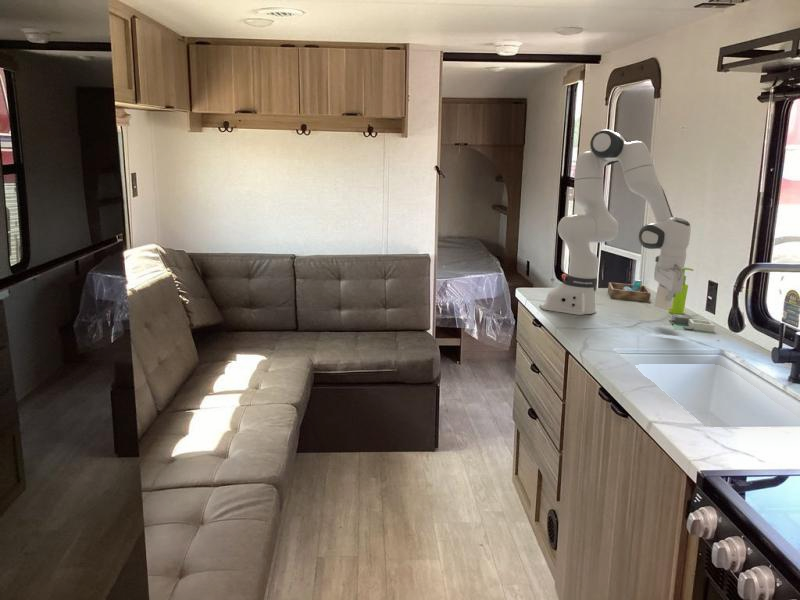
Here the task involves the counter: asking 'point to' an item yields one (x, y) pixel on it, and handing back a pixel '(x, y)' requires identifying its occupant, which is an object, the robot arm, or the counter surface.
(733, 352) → the counter surface
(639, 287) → the teal container
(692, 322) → the compartment tray
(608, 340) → the counter surface
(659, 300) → the plug
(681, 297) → the soap dispenser
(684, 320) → the grey sponge
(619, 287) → the wooden tray
